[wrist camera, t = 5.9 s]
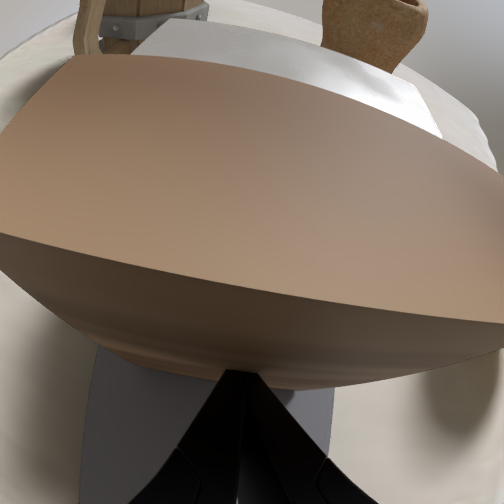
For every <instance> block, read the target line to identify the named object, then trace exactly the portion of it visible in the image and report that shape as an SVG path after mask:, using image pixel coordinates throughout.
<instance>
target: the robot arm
mask: <svg viewBox="0 0 504 504" xmlns="http://www.w3.org/2000/svg"><path fill="white" fill-rule="evenodd" d="M237 499H238V504H379V503H377V502H376V501H375V500H373V499H372V498H371V497H370V496H368V495H367V494H366V493H365V492H364V491H362V490H361V489H360V488H359V487H358V486H357V485H355V484H354V483H353V482H352V481H351V480H350V479H349V478H348V477H347V476H346V475H345V474H344V473H343V472H342V471H341V470H340V469H339V468H338V467H337V466H336V465H335V464H334V463H333V462H332V460H331V459H330V458H327V455H326V454H325V453H324V452H323V451H322V450H321V448H320V447H319V446H318V445H317V444H316V443H315V442H314V440H313V439H312V438H311V437H310V436H309V435H308V434H307V432H306V431H305V430H304V429H303V428H302V427H301V425H300V424H299V423H298V422H297V421H296V419H295V418H294V417H293V416H292V415H291V414H290V412H289V411H288V410H287V409H286V408H285V406H284V405H283V404H282V403H281V401H280V400H279V399H278V398H277V397H276V395H275V394H274V393H273V392H272V390H271V389H270V388H269V387H268V385H267V384H266V383H265V382H264V380H263V379H262V378H261V377H260V375H259V374H258V373H251V372H241V371H236V370H230V369H225V371H224V372H223V374H222V375H221V377H220V379H219V380H218V382H217V383H216V385H215V387H214V388H213V390H212V391H211V393H210V395H209V396H208V398H207V399H206V401H205V402H204V404H203V406H202V407H201V409H200V410H199V412H198V413H197V415H196V416H195V418H194V419H193V421H192V423H191V424H190V426H189V427H188V429H187V430H186V432H185V433H184V435H183V436H182V438H181V439H180V441H179V442H178V444H177V445H176V448H174V449H173V451H172V452H171V454H170V455H169V457H168V458H167V460H166V461H165V462H164V464H163V465H162V466H161V468H160V469H159V470H158V472H157V473H156V474H155V475H154V476H153V477H152V478H151V480H150V481H149V482H148V483H147V484H146V485H145V486H144V487H143V488H142V489H141V490H140V491H139V492H138V493H137V494H136V495H135V496H134V497H133V498H132V499H131V500H130V501H129V502H128V503H127V504H236V503H237Z"/></svg>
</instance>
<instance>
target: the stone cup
mask: <svg viewBox="0 0 504 504" xmlns="http://www.w3.org/2000/svg"><path fill="white" fill-rule="evenodd" d="M427 21H428V9H427V7H426V5H425V4H424V3H423V2H422V1H421V0H324V1H323V6H322V25H323V38H322V43H321V46H320V47H323V48H326V49H329V50H332V51H335V52H338V53H341V54H344V55H346V56H349V57H352V58H354V59H357V60H359V61H362V62H364V63H367V64H369V65H372V66H374V67H376V68H379V69H381V70H383V71H385V72H387V73H390V74H392V72H393V71H394V69H395V68H396V67H397V65H398V64H399V63H400V62H401V60H402V59H403V58H404V57H405V56H406V55H407V54H408V53H409V52H410V51H411V50H412V49H413V48H414V46H415V45H416V44H417V43H418V42H419V41H420V39H421V38H422V36H423V35H424V33H425V30H426V25H427Z"/></svg>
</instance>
